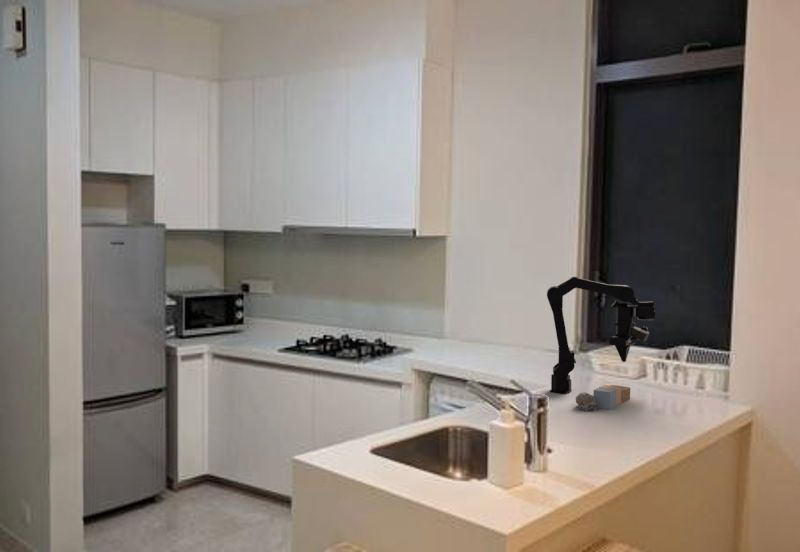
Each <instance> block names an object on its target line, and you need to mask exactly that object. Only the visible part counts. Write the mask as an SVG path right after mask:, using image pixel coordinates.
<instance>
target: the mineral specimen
mask: <svg viewBox="0 0 800 552" xmlns="http://www.w3.org/2000/svg"><path fill="white" fill-rule="evenodd" d="M575 403H576V404H577V409H578V410H579V409H580V410H581V411H583V412H588V411H591V410H593V411H596V410H597V409H598V408H597V407H598V406H599V405H598V404H597V403H596V401H595V399H594V395H592V394H590V393H588V392H585V391H584V392H580V393H579V394H578V395H577V396H576V397H575ZM580 410H579V411H580Z"/></svg>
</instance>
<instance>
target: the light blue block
mask: <svg viewBox="0 0 800 552" xmlns="http://www.w3.org/2000/svg"><path fill="white" fill-rule="evenodd" d="M593 396H594V399H595V401H596V403H597V404H598V405H599V406H598V407H597V409H603V410H604V409H605V410H609V409H611V410H612V409H615V408H616V407H617V406H616V390H614V389H607V388H599V387H598V388H595V389H593Z"/></svg>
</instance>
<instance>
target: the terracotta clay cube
mask: <svg viewBox="0 0 800 552" xmlns="http://www.w3.org/2000/svg"><path fill="white" fill-rule="evenodd" d="M610 385H611V384H610ZM610 385H608V384H603V385H601V386H599V387H598V388H607V389H614V390H616V407H617V406H620V405H622V403H621V387H617V386H618V385H617V386H610Z"/></svg>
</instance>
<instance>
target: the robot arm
mask: <svg viewBox="0 0 800 552" xmlns="http://www.w3.org/2000/svg"><path fill="white" fill-rule="evenodd" d="M574 289H581V290H586V291H589V292H592V293H593V292H594V293H598V294H603V295H607V296H609V297H612V298H614V299H616V300H615V301H614V303H612V304H611V308H616V321H615V322H614V326H616V333H614V335H613V336H610V338H608V346H609V345H610V346H615V349H616V351H617V353H618V356H619V358H620V360H621V362H622V363H626V361H627V359H628V355H629V352H630V349H631V347H633V346H634V344H635V343H636V342H637V341H640V342H644V343H645V341H647V340H648V338H649V336H650V331H649V327H648V326H642V327H641V328H640V327H637V326H636V322H634V318H637V320H638V321H655V318H656V311H655V303H654V301H639V300H638V299H637V298H636V297H635V292H634V289H633V288H632V287H631V286H630V285H627V284H608V283H602V282H598V281H594V280H590V279H585V278H580V277H577V276H572V277H570V278H569V279H568V280H566V281H564V282H562V283H560V284H559V285H557V286H556V285H554V286H552V285H551V286H550V287H549V288H547V291H546V297H547V301H548V302H549V306H550V308H551V311H552V314H553V321H554V322H553V323H554V325H555V326H554V327H555V333H556V339H557V346H558V362H557V363H556V364H555V365H554V366H552V373H553V374H552V373H551V377H550V379H551V380H550V387H551V389H549V392H550V393H558V394H567V393H570V392H572V390H573V389H572V379H571V375H570V373H571V372H573V370H574V369H575V364H577V360H576V358H575V350H574V349H572V350H570V347H569V343H568V342H569V341H568V337H567V331H566V330H567V329H566V325H565V323H566V322H565V318H564V312H563V305H564V304H563V303H564V302H563V301H564V300H563V299H564V298H563V297H564V296H565V295H567V294H568V293H570V292H571V291H573V290H574ZM618 300H619V301H620V302H618ZM628 302H629V303H630V304H631V305H628ZM632 340H635V341H636V342H635V341H634V342H632Z"/></svg>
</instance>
